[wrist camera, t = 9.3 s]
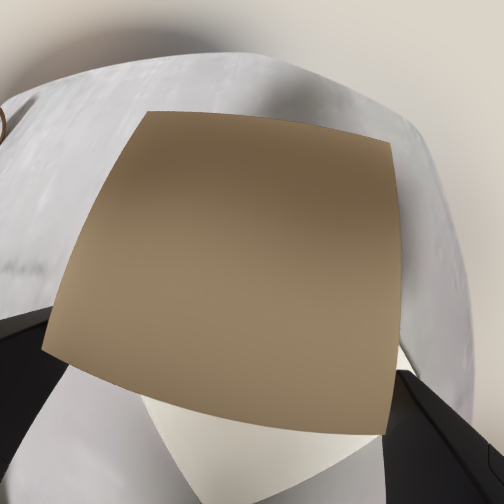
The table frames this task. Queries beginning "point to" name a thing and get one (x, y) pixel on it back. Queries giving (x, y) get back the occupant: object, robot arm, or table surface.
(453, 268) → the table surface
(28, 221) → the table surface
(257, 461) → the cutting board
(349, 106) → the table surface
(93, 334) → the wooden block
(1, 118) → the tin
